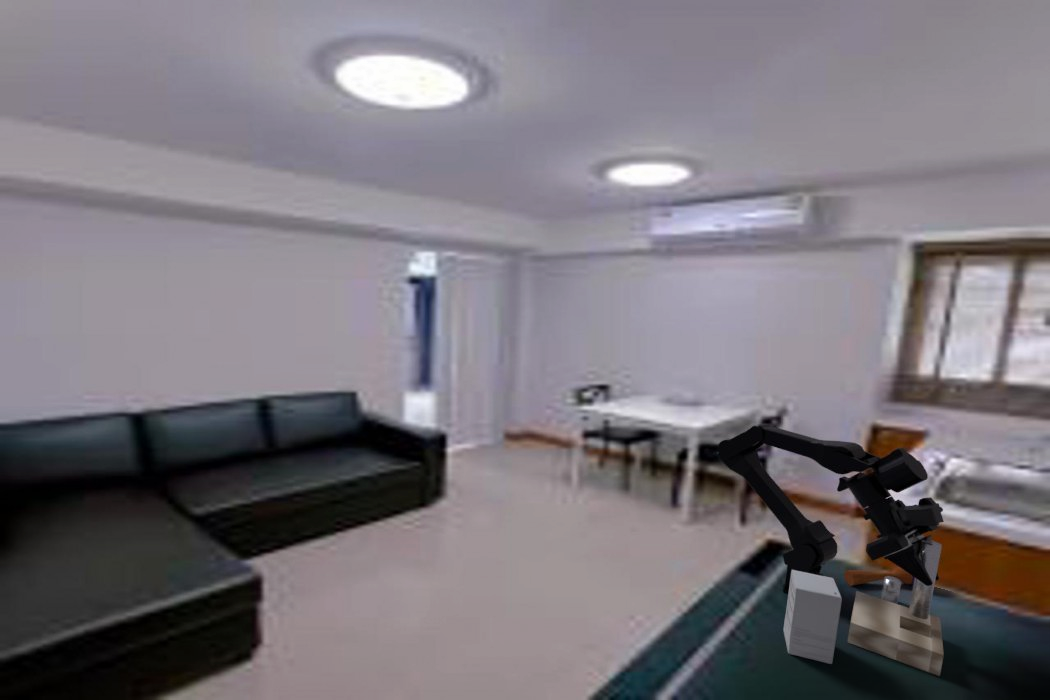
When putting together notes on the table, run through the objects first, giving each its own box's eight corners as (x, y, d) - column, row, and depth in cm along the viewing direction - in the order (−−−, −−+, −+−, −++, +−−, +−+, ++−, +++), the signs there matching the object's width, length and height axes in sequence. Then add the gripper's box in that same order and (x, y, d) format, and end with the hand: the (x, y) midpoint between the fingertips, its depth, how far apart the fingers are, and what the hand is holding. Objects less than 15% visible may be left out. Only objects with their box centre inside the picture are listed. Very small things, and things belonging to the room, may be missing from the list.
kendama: (839, 560, 130) (919, 555, 132) (840, 586, 129) (920, 581, 132) (857, 568, 124) (940, 563, 126) (858, 596, 123) (942, 590, 126)
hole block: (847, 642, 105) (850, 622, 104) (853, 609, 116) (856, 591, 116) (939, 676, 97) (943, 655, 97) (936, 637, 109) (940, 618, 108)
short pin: (880, 601, 120) (884, 579, 119) (881, 596, 123) (884, 574, 122) (897, 607, 118) (901, 585, 118) (897, 601, 121) (901, 579, 120)
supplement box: (825, 641, 105) (835, 577, 103) (832, 666, 98) (843, 598, 96) (782, 630, 107) (791, 568, 105) (786, 653, 100) (796, 587, 99)
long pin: (905, 611, 105) (918, 540, 103) (913, 607, 106) (926, 538, 105) (923, 620, 102) (936, 548, 100) (931, 616, 104) (945, 545, 102)
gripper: (896, 493, 99) (960, 582, 91) (933, 477, 110) (993, 554, 103) (842, 518, 106) (898, 602, 99) (882, 500, 117) (935, 574, 110)
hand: (933, 582), depth 102 cm, fingers closed on long pin, 3 cm apart
